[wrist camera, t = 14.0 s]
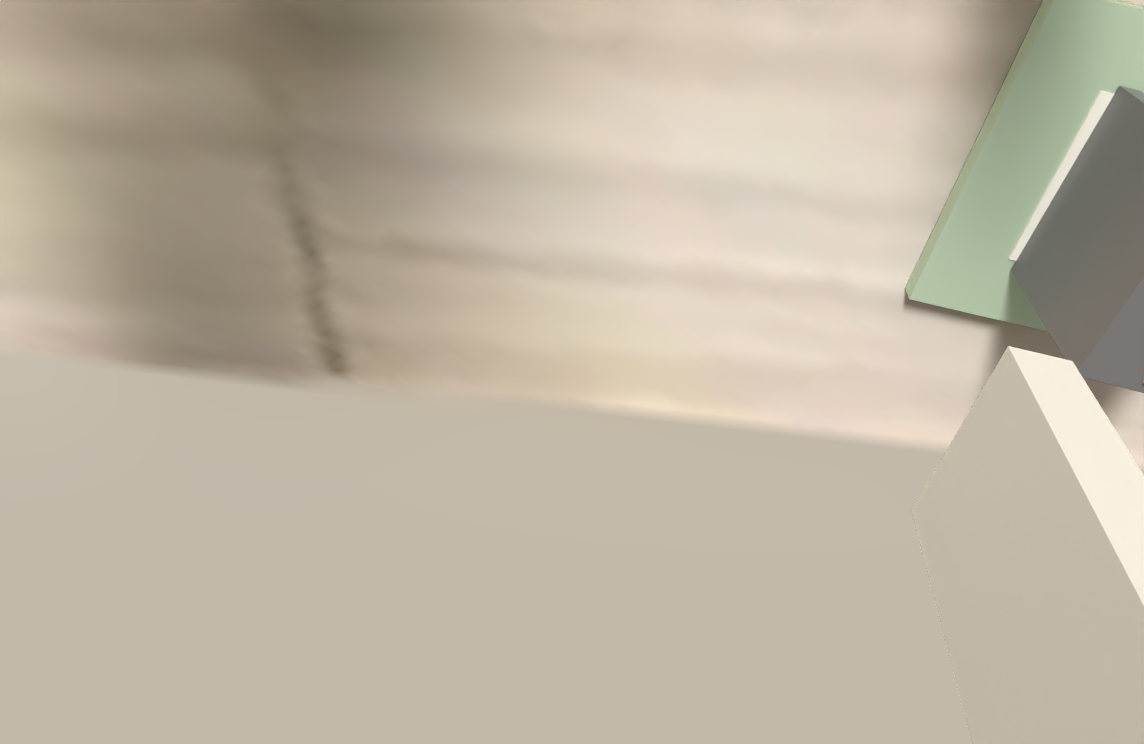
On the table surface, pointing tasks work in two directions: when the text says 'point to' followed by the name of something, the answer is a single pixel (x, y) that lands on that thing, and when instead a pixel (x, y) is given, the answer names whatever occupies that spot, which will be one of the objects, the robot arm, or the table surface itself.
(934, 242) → the board
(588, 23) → the table surface
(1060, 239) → the plug housing
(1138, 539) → the robot arm
